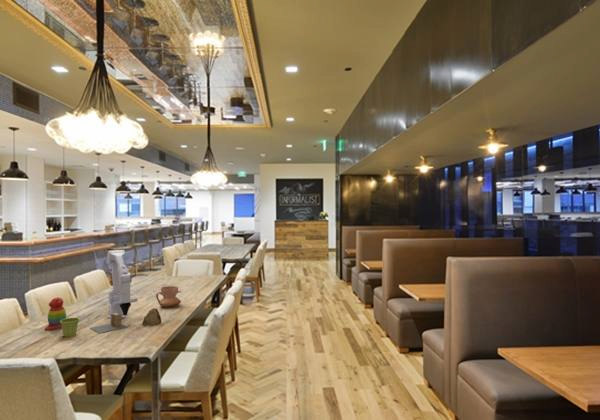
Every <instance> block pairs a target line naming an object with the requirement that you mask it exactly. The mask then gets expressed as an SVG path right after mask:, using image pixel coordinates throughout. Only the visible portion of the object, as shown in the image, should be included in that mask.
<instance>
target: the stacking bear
mask: <svg viewBox="0 0 600 420" xmlns="http://www.w3.org/2000/svg"><path fill="white" fill-rule="evenodd" d="M63 305H64V299H63V298H61V297H59V296H57V297H54V298H52V299H51V301H49V303H48V306H49V307H50V308H49V309H48V315H47V322H48V325H47V326H45V328H44V331H47V332H48V331H54V330H60V329H62V325H61V322H60V321H61V320H63V319H66V318H67V312H66V308H65V307H64V306H63Z"/></svg>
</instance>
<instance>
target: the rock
mask: <svg viewBox="0 0 600 420" xmlns="http://www.w3.org/2000/svg"><path fill="white" fill-rule="evenodd" d="M160 323H162V318H161V314H160V311H159V310H158V308H157V307H154V308H152V309H149V310H148V312H147V313H146V315H144V318H143V320H142V325H143V326H145V325H155V324H160Z"/></svg>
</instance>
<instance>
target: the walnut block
mask: <svg viewBox="0 0 600 420" xmlns="http://www.w3.org/2000/svg"><path fill="white" fill-rule="evenodd" d="M110 321H111V322H110V323H111V326H113V327H120V326H121V324H122V318H121V314H119V313H113V314H111V318H110Z"/></svg>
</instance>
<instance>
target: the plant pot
mask: <svg viewBox="0 0 600 420" xmlns="http://www.w3.org/2000/svg"><path fill="white" fill-rule="evenodd" d="M80 320H81V319H80V318H79V317H69V318H68V317H66V319H63V320H61V321H60V322H61V325H62V328H61V329H62V330H61V331H62V336H63V338H64V337H65V338H66V337H67V338H69V337H74V336H76V335H77V331H78V330H77V329H78V324H79V321H80Z"/></svg>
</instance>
